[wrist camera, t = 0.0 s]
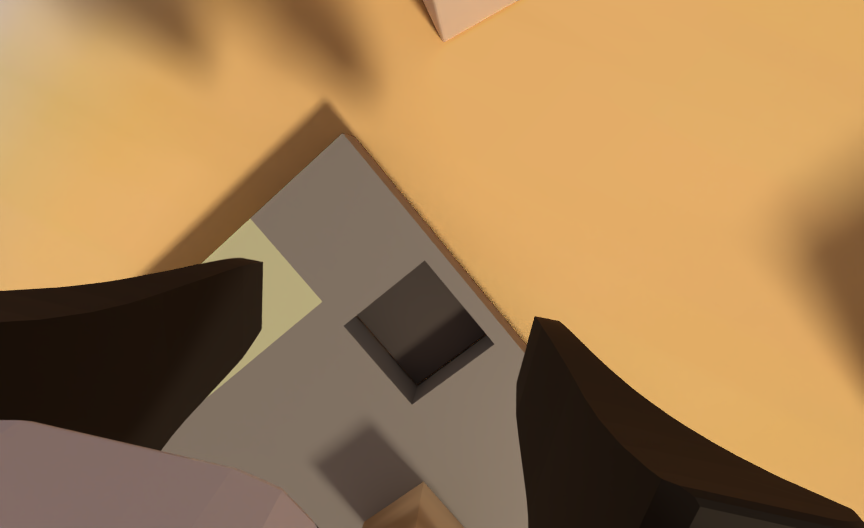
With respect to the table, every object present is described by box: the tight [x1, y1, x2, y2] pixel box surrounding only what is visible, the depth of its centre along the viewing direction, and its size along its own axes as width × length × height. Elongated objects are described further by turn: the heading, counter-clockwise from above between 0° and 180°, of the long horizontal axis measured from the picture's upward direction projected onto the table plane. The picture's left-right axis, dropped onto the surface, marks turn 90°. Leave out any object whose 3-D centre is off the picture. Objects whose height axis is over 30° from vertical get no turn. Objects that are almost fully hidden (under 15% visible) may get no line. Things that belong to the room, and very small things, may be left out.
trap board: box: [161, 133, 528, 528], centre depth 23 cm, size 20×22×2 cm
